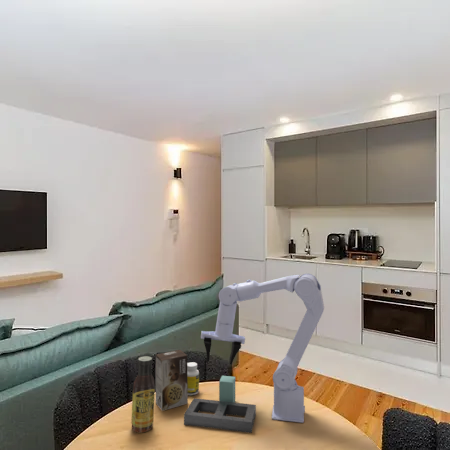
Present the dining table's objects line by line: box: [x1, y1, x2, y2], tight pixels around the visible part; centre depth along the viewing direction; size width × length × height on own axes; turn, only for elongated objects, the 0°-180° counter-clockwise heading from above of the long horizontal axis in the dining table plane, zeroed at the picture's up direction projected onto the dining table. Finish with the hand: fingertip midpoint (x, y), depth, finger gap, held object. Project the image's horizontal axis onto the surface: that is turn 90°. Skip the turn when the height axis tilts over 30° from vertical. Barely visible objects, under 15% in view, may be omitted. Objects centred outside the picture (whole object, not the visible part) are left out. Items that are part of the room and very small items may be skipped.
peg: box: [218, 375, 236, 403], centre depth 114 cm, size 4×4×8 cm
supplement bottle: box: [187, 361, 200, 396], centre depth 122 cm, size 5×5×10 cm
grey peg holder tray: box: [183, 397, 257, 434], centre depth 104 cm, size 20×10×3 cm, turn 78°
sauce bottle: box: [130, 355, 156, 434], centre depth 100 cm, size 6×6×20 cm
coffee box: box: [155, 349, 189, 412], centre depth 114 cm, size 9×6×16 cm
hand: (219, 361), depth 115 cm, fingers open, 7 cm apart
